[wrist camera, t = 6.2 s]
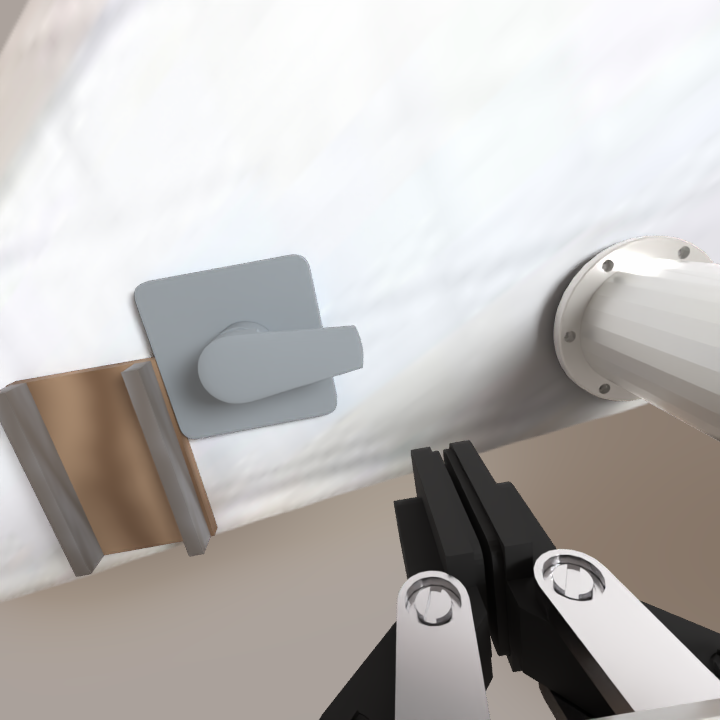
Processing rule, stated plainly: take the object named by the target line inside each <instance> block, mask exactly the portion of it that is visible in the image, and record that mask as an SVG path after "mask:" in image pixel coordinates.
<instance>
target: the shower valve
mask: <svg viewBox="0 0 720 720" xmlns="http://www.w3.org/2000/svg"><path fill="white" fill-rule="evenodd" d="M134 298H135V302H136V305H137V308H138V311H139V313H140V316H141V319H142V322H143V325H144V328H145V330H146V333H147V336H148V339H149V342H150V345H151V348H152V350H153V353H154V356H155V359H156V362H157V365H158V368H159V370H160V373H161V376H162V379H163V382H164V385H165V387H166V390H167V393H168V396H169V399H170V402H171V405H172V407H173V410H174V413H175V416H176V419H177V422H178V424H179V427H180V430H181V432H182V433H183V434H184V435H185V436H186V437H188V438H191V439H200V438H206V437H211V436H216V435H222V434H227V433H232V432H238V431H243V430H248V429H253V428H259V427H264V426H269V425H275V424H280V423H285V422H291V421H296V420H301V419H307V418H312V417H317V416H323V415H327V414H329V413H331V412H333V411H334V410H335V408H336V406H337V394H336V389H335V385H334V380H333V377H334V376H337V375H340V374H344V373H347V372H350V371H354V370H357V369H360V368H363V348H362V343H361V339H360V336H359V334H358V331H357V329H356V327H355V326H342V327H328V328H323V327H322V323H321V318H320V313H319V308H318V303H317V299H316V294H315V289H314V284H313V280H312V275H311V270H310V266H309V264H308V262H307V260H306V259H305V258H304V257H302V256H300V255H287V256H281V257H276V258H270V259H265V260H259V261H254V262H249V263H243V264H238V265H232V266H227V267H222V268H216V269H211V270H205V271H200V272H195V273H189V274H184V275H178V276H173V277H168V278H162V279H157V280H152V281H148V282H144V283H142V284H140V285H139V286H137V288H136V289H135V293H134Z"/></svg>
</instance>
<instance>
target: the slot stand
mask: <svg viewBox="0 0 720 720" xmlns="http://www.w3.org/2000/svg"><path fill="white" fill-rule="evenodd" d="M0 422H1V424H2V426H3V428H4V430H5V433H6V435H7V437H8V439H9V441H10V443H11V445H12V447H13V449H14V451H15V453H16V455H17V457H18V459H19V461H20V463H21V465H22V467H23V469H24V471H25V473H26V475H27V477H28V479H29V482H30V484H31V486H32V488H33V490H34V492H35V494H36V496H37V498H38V500H39V502H40V504H41V506H42V508H43V510H44V512H45V514H46V516H47V518H48V520H49V522H50V524H51V526H52V528H53V531H54V533H55V535H56V537H57V539H58V541H59V543H60V545H61V547H62V549H63V551H64V553H65V555H66V557H67V559H68V561H69V563H70V565H71V567H72V569H73V571H74V573H75V575H76V577H77V576H83V575H89V574H91V573H92V572H93V570H94V569H95V568H96V566H97V565H98V563H99V562H100V560H101V559H102V558H103V556H104V555H108V554H114V553H120V552H125V551H131V550H136V549H142V548H148V547H153V546H159V545H164V544H170V543H176V542H181V541H184V544H185V547H186V550H187V552H188V555H189V556H195V555H201V554H204V552H205V550H206V547H207V545H208V542H209V540H210V537H211V536H214V535H215V533H216V530H217V524H216V521H215V518H214V515H213V512H212V509H211V506H210V503H209V500H208V497H207V494H206V491H205V489H204V486H203V483H202V480H201V477H200V474H199V471H198V468H197V465H196V462H195V459H194V456H193V453H192V450H191V447H190V444H189V441H188V438H187V437H186V436H185V435H184V434H183V433H182V432H181V430H180V427H179V424H178V422H177V419H176V416H175V413H174V410H173V407H172V405H171V402H170V399H169V396H168V393H167V390H166V387H165V385H164V382H163V379H162V376H161V373H160V370H159V368H158V365H157V362H156V359H155V357H151V358H146V359H140V360H134V361H129V362H123V363H117V364H111V365H106V366H100V367H94V368H88V369H83V370H77V371H71V372H66V373H60V374H54V375H48V376H43V377H37V378H31V379H25V380H20V381H15V382H13V383H11V384H9V385H7V386H6V387H5V388H3V389H1V390H0Z"/></svg>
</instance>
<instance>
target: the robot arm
mask: <svg viewBox="0 0 720 720" xmlns="http://www.w3.org/2000/svg"><path fill="white" fill-rule="evenodd" d="M602 264H603V266H602ZM565 334H566V335H565ZM554 345H555V351H556V355H557V358H558V360H559V363H560V365H561V367H562V368H563V370H564V371H565V373H566V374H567V376H568V377H569V378H570V379H571V380H572V381H573V382H574V383H576V384H577V385H578V386H579V387H581V388H583V389H584V390H586V391H587V392H589V393H590V394H593V395H595V396H597V397H599V398H603V399H608V400H613V401H633V400H638V399H643V400H645V401H647V402H649V403H651V404H652V405H655V406H656V407H658V408H660V409H662V410H663V411H665V412H667V413H669V414H671V415H673V416H674V417H676V418H678V419H680V420H682V421H683V422H685V423H687V424H689V425H691V426H692V427H694V428H696V429H698V430H700V431H701V432H703V433H705V434H707V435H709V436H710V437H712V438H714V439H716V440H718V441H720V264H714V262H713V261H712V260H711V259H710V258H709V256H708V255H707V254H706V253H705V252H704V251H703V250H701V249H700V248H698V247H697V246H696V245H694V244H693V243H690V242H688V241H685V240H683V239H680V238H676V237H668V236H642V237H636V238H630V239H627V240H625V241H622V242H619V243H617V244H614V245H612V246H610V247H609V248H607V249H605V250H604V251H602V252H600V253H598V254H597V255H596V256H595V257H594V258H592V259H591V260H590V261H589V262H588V263H586V264H585V265H584V266H583V267H582V269H581V270H580V271H579V272H578V273H577V274H576V276H575V277H574V278H573V279H572V281H571V282H570V284H569V286H568V287H567V289H566V290H565V292H564V294H563V296H562V299H561V301H560V304H559V306H558V308H557V313H556V317H555V322H554ZM443 453H444V462H443V460H442V458H441V455H440V453H439V451H433V452H432V450H431V448H430V447H426V448H420V449H414V450H411V458H412V465H413V472H414V479H415V486H416V493H417V497H415V498H409V499H403V500H397V501H394V507H395V513H396V519H397V525H398V531H399V537H400V543H401V548H402V553H403V559H404V564H405V569H406V573H407V579H408V580H407V581H406V582H405V583H404V584H403V585H402V587H401V589H400V591H399V594H398V599H397V621H396V622H395V623H394V625H393V626H392V627H391V628H390V630H389V631H388V632H387V633H386V635H385V636H384V637H383V638H382V640H381V641H380V642H379V644H378V645H377V646H376V647H375V649H374V650H373V651H372V652H371V654H370V655H369V656H368V657H367V659H366V660H365V661H364V662H363V664H362V665H361V666H360V667H359V669H358V670H357V671H356V673H355V674H354V675H353V676H352V678H351V679H350V680H349V681H348V683H347V684H346V685H345V686H344V688H343V689H342V690H341V692H340V693H339V694H338V695H337V697H336V698H335V699H334V700H333V702H332V703H331V704H330V705H329V707H328V708H327V709H326V710H325V712H324V713H323V714H322V716H321V718H320V719H319V720H490V714H489V709H488V703H487V697H486V690H487V688H488V686H489V684H490V682H491V680H492V678H493V674H492V663H491V657H492V651H491V639H492V641H493V644H494V647H495V649H496V651H497V654H498V655H499V656H503V655H506V656H507V658H508V660H509V663H510V666H511V668H512V671H513V672H517V671H523V673H525V674H526V675H528V676H530V677H531V678H533V679H535V680H536V681H538V682H539V688H540V690H541V693H542V695H543V698H544V699H545V701H546V703H547V705H548V706H549V708H550V710H551V712H552V713H553V715H554V717H555V718H556V720H720V634H719V633H717V632H715V631H712V630H710V629H707V628H705V627H703V626H700V625H697V624H695V623H693V622H691V621H688V620H686V619H683V618H681V617H678V616H676V615H674V614H671V613H669V612H666V611H664V610H662V609H659V608H657V607H654V606H652V605H649V604H647V603H645V602H642V601H640V600H638V599H637V598H636V597H635V596H634V595H633V594H632V593H631V592H630V591H629V590H628V589H627V588H626V587H625V586H624V585H623V584H622V583H621V582H620V581H619V580H618V579H617V578H616V577H615V576H614V575H613V574H612V573H611V572H610V571H609V570H608V569H607V568H606V567H605V566H604V565H602V564H601V563H600V562H598V561H597V560H596V559H595V558H593V557H591V556H589V555H587V554H585V553H582V552H578V551H574V550H568V549H556V547H555V546H554V545H553V543H552V541H551V540H550V538H549V537H548V536H547V534H546V533H545V531H544V530H543V528H542V527H541V526H540V524H539V522H538V521H537V519H536V518H535V517H534V515H533V513H532V512H531V510H530V509H529V508H528V506H527V505H526V503H525V502H524V500H523V499H522V497H521V496H520V494H519V493H518V491H517V490H516V488H515V487H514V485H513V484H512V483H511V482H504V483H497V484H496V482H495V481H494V479H493V477H492V476H491V474H490V473H489V471H488V469H487V468H486V466H485V464H484V463H483V461H482V460H481V458H480V456H479V455H478V453H477V451H476V450H475V448H474V446H473V445H472V443H471V442H470V440H467V441H461V442H455V443H450V445H449V449H445V450H444V451H443ZM444 463H445V464H444ZM490 636H491V639H490Z"/></svg>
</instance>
